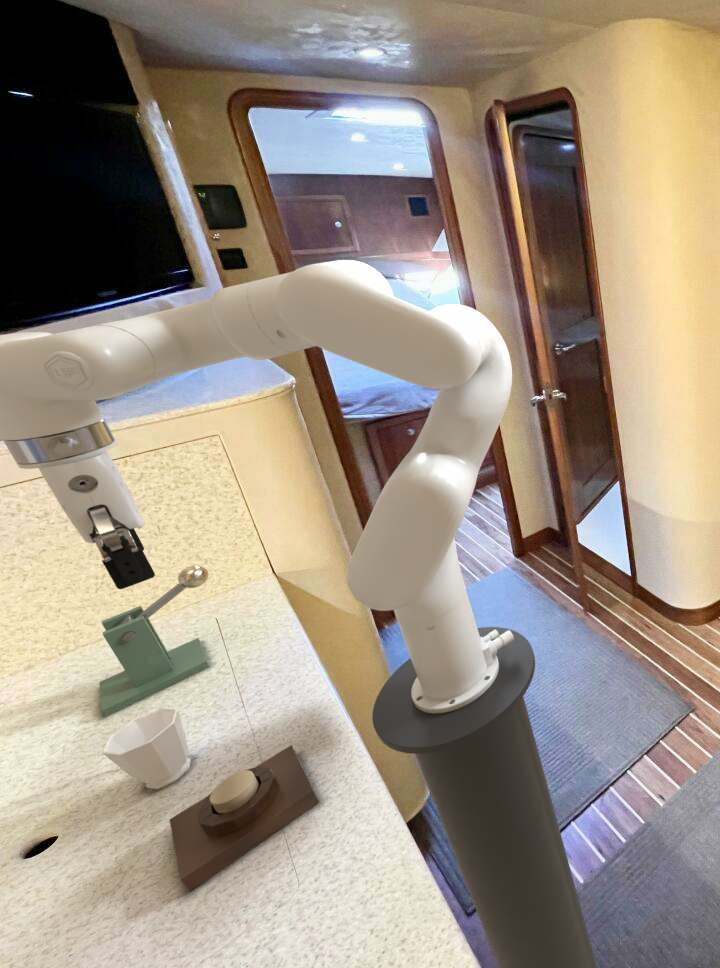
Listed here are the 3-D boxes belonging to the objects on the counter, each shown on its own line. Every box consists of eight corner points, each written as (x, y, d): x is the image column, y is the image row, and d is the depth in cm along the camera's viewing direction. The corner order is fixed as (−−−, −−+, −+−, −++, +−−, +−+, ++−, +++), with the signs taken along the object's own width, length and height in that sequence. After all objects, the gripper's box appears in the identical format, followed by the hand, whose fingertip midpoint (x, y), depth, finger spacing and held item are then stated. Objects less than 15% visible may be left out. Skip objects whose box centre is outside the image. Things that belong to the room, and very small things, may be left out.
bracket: (201, 642, 94) (171, 588, 90) (209, 666, 88) (178, 609, 84) (102, 687, 86) (64, 629, 81) (105, 716, 80) (64, 656, 76)
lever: (212, 570, 91) (192, 558, 89) (216, 577, 89) (195, 566, 87) (129, 636, 85) (105, 626, 83) (131, 646, 83) (106, 636, 80)
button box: (297, 755, 72) (287, 734, 70) (319, 802, 65) (308, 780, 64) (177, 831, 63) (162, 809, 62) (189, 892, 57) (172, 869, 56)
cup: (141, 810, 66) (109, 765, 63) (118, 773, 71) (88, 730, 68) (212, 763, 72) (186, 719, 69) (186, 731, 77) (161, 689, 74)
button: (255, 773, 66) (249, 763, 65) (262, 793, 63) (256, 783, 63) (213, 799, 63) (206, 789, 62) (219, 821, 60) (212, 811, 60)
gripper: (119, 447, 58) (185, 577, 64) (104, 419, 68) (163, 533, 74) (10, 473, 53) (94, 612, 59) (12, 439, 63) (83, 560, 69)
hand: (132, 568), depth 67 cm, fingers open, 9 cm apart
